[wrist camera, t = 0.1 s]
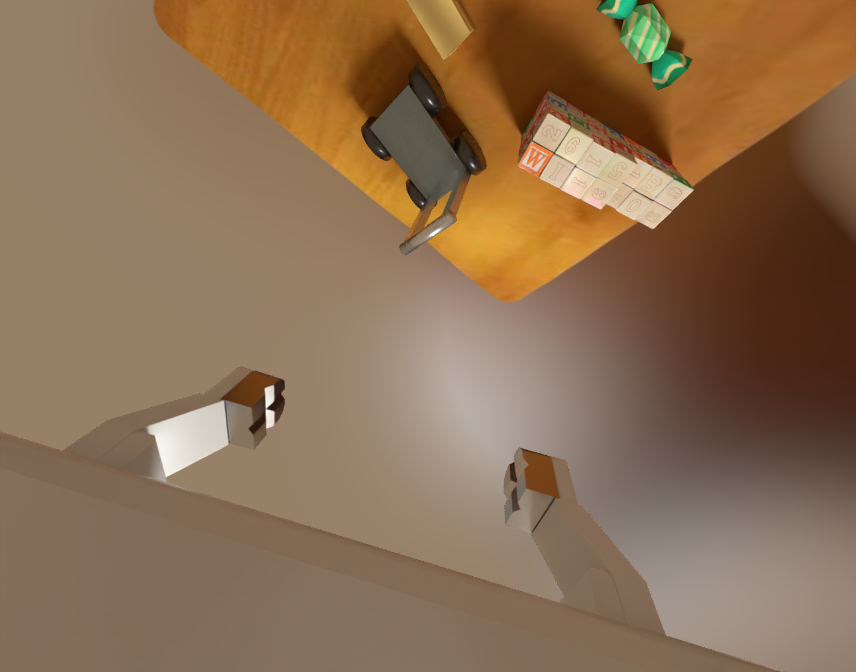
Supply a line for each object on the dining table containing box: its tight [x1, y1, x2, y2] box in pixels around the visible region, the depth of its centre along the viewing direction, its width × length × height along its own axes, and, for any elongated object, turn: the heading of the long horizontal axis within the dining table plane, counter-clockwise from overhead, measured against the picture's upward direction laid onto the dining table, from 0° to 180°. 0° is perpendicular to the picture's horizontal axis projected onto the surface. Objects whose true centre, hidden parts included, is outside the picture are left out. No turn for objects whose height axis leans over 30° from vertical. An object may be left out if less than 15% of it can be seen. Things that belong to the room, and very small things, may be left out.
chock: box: [407, 0, 475, 60], centre depth 40 cm, size 4×8×5 cm, turn 41°
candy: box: [597, 0, 692, 90], centre depth 38 cm, size 12×3×4 cm
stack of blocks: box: [518, 90, 693, 229], centre depth 44 cm, size 21×6×12 cm, turn 68°
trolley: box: [361, 63, 487, 255], centre depth 46 cm, size 16×12×20 cm
